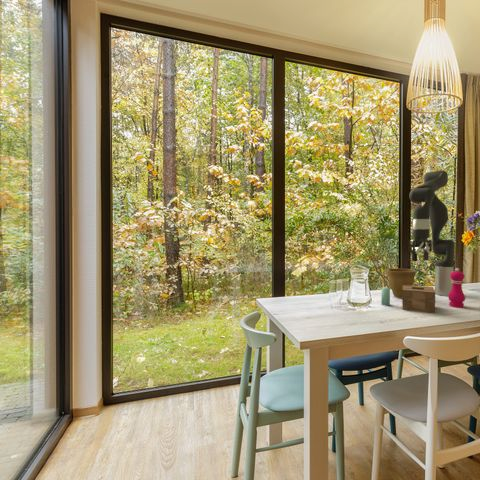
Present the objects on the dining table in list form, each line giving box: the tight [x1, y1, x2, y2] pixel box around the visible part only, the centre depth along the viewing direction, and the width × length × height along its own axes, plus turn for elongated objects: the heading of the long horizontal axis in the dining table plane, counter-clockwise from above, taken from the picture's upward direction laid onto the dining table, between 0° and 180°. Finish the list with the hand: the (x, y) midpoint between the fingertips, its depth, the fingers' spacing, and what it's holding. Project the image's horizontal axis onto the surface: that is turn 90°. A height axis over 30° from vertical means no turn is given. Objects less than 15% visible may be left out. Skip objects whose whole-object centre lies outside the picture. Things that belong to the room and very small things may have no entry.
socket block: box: [401, 285, 436, 314], centre depth 160 cm, size 14×14×10 cm
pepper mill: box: [447, 267, 466, 309], centre depth 162 cm, size 7×7×20 cm
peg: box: [381, 286, 391, 306], centre depth 167 cm, size 4×4×9 cm
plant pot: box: [386, 268, 416, 299], centre depth 184 cm, size 15×15×16 cm
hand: (420, 260), depth 156 cm, fingers open, 8 cm apart
